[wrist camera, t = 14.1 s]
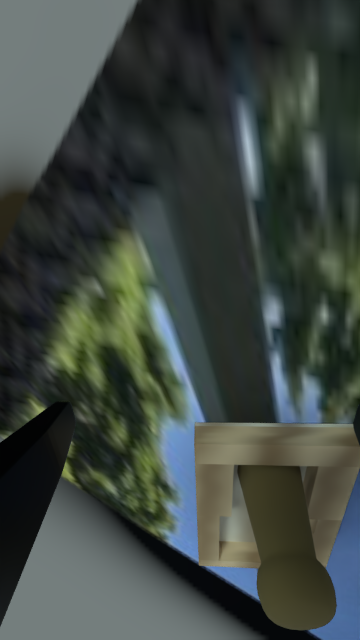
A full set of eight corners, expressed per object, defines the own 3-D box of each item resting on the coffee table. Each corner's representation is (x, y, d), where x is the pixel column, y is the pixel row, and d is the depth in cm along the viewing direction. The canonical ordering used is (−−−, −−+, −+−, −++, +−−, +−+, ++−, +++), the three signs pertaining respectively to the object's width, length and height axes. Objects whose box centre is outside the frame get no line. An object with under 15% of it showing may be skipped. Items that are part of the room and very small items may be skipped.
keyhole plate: (353, 424, 26) (366, 446, 24) (317, 546, 35) (324, 571, 33) (194, 422, 27) (194, 444, 25) (199, 542, 36) (199, 565, 34)
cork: (275, 496, 31) (310, 649, 21) (225, 476, 30) (237, 626, 20) (313, 464, 28) (373, 620, 19) (260, 440, 27) (293, 592, 18)
